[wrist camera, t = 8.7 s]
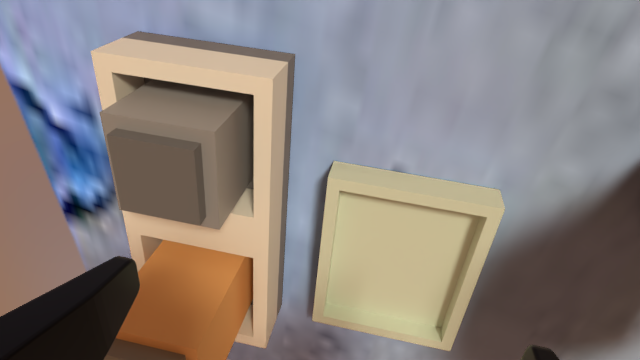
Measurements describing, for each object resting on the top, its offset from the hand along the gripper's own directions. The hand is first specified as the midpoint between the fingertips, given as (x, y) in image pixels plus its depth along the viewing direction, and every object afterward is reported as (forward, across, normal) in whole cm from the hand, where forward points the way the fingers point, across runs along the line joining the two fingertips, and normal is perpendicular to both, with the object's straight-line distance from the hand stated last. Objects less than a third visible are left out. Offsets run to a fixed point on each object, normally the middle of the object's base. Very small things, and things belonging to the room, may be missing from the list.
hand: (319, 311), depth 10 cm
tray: (+12, -2, +8) cm, 15 cm away
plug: (+11, +7, +10) cm, 17 cm away
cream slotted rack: (+12, +8, +6) cm, 15 cm away
